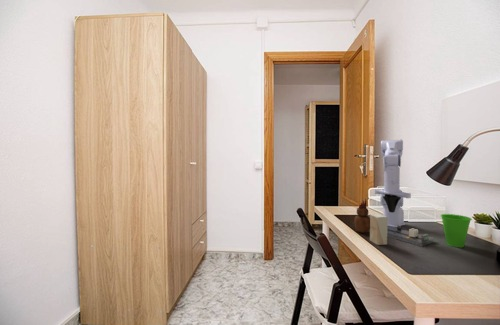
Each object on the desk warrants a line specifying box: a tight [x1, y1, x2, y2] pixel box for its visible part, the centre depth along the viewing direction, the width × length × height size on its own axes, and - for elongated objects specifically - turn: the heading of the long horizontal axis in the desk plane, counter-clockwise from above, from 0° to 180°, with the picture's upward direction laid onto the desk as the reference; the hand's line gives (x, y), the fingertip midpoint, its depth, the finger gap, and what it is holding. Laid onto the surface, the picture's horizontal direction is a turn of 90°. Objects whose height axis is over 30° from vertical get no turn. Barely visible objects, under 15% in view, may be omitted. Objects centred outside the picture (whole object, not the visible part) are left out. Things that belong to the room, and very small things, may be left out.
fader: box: [408, 228, 419, 237], centre depth 95 cm, size 3×2×3 cm
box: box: [369, 213, 388, 246], centre depth 93 cm, size 5×4×11 cm
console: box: [387, 225, 436, 247], centre depth 99 cm, size 10×19×4 cm, turn 28°
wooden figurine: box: [353, 198, 370, 234], centre depth 107 cm, size 7×6×15 cm
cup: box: [440, 213, 473, 248], centre depth 90 cm, size 9×9×11 cm
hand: (391, 212), depth 103 cm, fingers closed
